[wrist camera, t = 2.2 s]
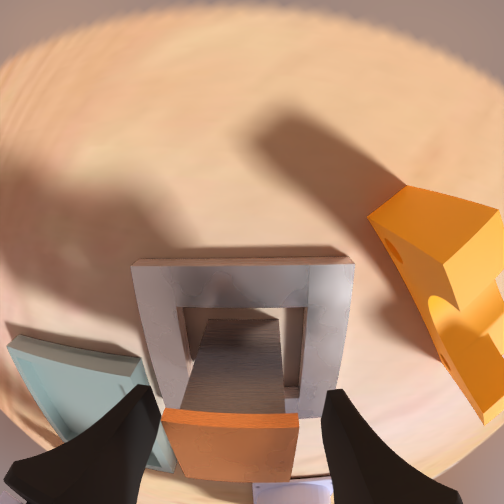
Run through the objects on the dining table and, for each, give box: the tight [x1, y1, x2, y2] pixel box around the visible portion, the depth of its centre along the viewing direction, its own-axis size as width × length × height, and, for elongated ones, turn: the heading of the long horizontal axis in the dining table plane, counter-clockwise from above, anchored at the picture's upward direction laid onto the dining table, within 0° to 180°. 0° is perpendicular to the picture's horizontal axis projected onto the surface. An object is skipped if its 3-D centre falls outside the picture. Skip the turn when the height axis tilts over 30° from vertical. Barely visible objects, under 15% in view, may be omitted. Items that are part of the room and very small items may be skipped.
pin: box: [161, 319, 299, 483], centre depth 11 cm, size 4×4×7 cm
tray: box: [7, 335, 177, 473], centre depth 16 cm, size 12×12×2 cm
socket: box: [130, 257, 355, 419], centre depth 14 cm, size 10×10×1 cm
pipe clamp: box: [367, 185, 504, 426], centre depth 10 cm, size 12×4×6 cm, turn 39°
